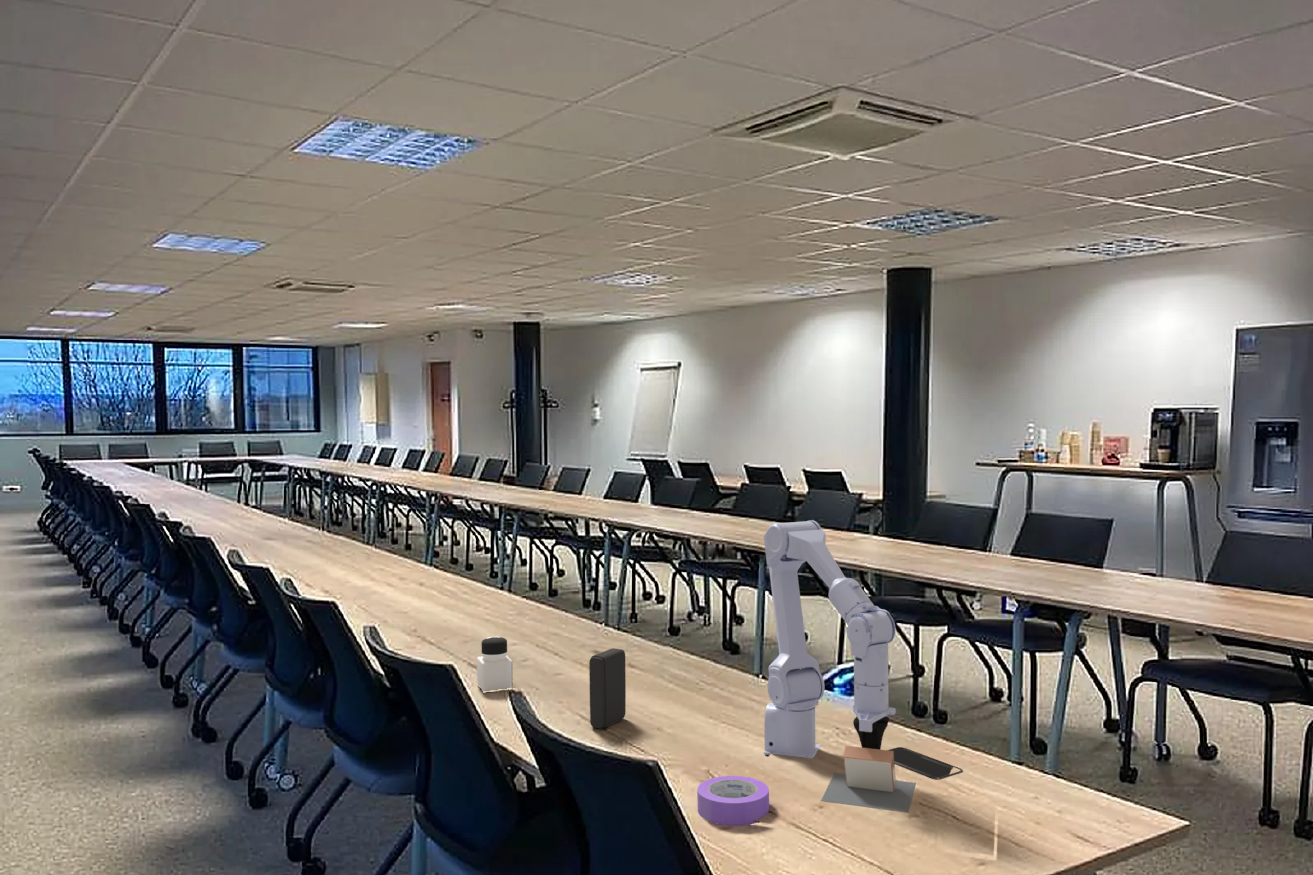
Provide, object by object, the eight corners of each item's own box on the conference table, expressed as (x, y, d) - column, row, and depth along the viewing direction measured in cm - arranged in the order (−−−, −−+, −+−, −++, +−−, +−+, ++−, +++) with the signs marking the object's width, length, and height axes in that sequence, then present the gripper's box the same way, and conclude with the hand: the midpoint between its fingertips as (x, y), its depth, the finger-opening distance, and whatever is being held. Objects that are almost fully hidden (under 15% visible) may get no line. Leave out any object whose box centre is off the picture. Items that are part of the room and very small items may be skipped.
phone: (936, 779, 164) (872, 754, 176) (936, 786, 164) (872, 760, 176) (965, 770, 168) (901, 746, 180) (965, 776, 168) (901, 751, 180)
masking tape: (682, 812, 153) (682, 788, 153) (729, 791, 161) (729, 769, 161) (737, 834, 145) (737, 809, 145) (784, 811, 153) (783, 788, 153)
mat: (820, 804, 155) (820, 800, 155) (834, 776, 167) (834, 772, 167) (908, 816, 150) (908, 812, 150) (915, 786, 162) (915, 782, 162)
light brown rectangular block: (846, 787, 161) (843, 757, 158) (848, 774, 163) (845, 745, 160) (894, 793, 158) (891, 763, 155) (895, 780, 161) (893, 751, 157)
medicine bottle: (512, 690, 223) (512, 640, 222) (482, 694, 220) (482, 643, 220) (506, 682, 229) (505, 633, 229) (477, 686, 227) (476, 636, 226)
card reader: (612, 715, 203) (611, 646, 203) (627, 718, 201) (627, 648, 201) (587, 727, 195) (587, 655, 195) (603, 730, 193) (603, 658, 193)
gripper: (890, 695, 153) (890, 778, 153) (899, 673, 166) (899, 749, 167) (846, 691, 155) (846, 773, 155) (859, 669, 169) (859, 745, 169)
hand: (871, 760), depth 161 cm, fingers closed
